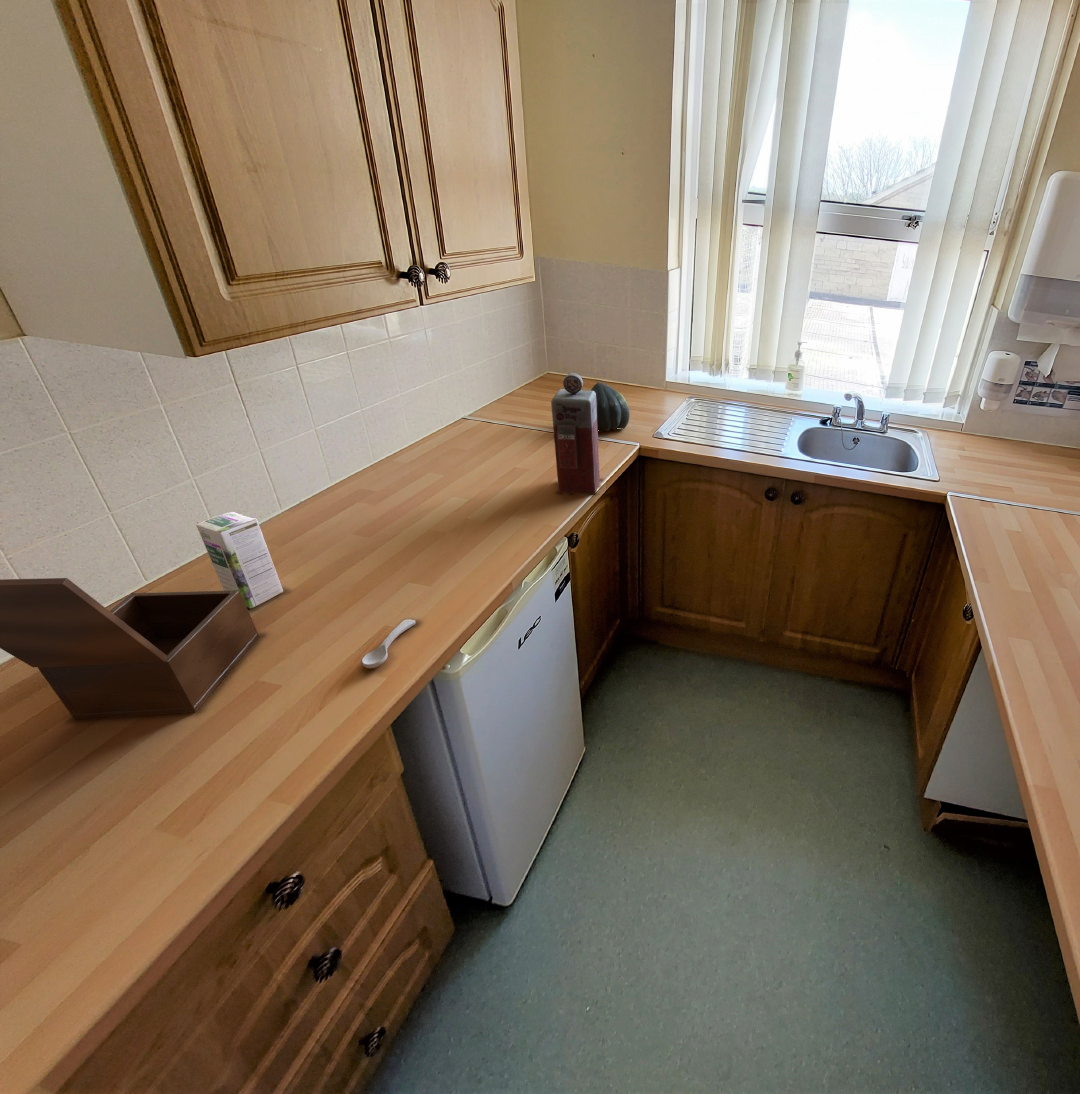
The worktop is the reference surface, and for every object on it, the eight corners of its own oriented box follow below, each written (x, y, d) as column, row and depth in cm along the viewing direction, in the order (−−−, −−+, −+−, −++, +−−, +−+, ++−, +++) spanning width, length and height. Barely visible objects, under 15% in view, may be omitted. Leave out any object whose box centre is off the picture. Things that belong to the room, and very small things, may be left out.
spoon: (358, 671, 83) (355, 660, 82) (403, 625, 94) (401, 615, 93) (378, 673, 83) (375, 662, 82) (421, 627, 94) (419, 617, 93)
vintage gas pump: (556, 496, 138) (546, 380, 124) (564, 478, 148) (556, 368, 133) (594, 498, 139) (588, 382, 125) (599, 479, 148) (595, 370, 134)
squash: (631, 421, 173) (627, 376, 176) (580, 423, 170) (577, 377, 173) (630, 439, 187) (626, 396, 190) (584, 441, 184) (580, 398, 187)
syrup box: (226, 600, 95) (191, 524, 88) (262, 583, 100) (232, 509, 93) (250, 609, 94) (217, 532, 86) (286, 591, 98) (257, 517, 91)
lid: (-98, 581, 56) (-104, 587, 55) (67, 577, 58) (62, 583, 58) (37, 661, 68) (32, 667, 68) (167, 655, 71) (164, 661, 70)
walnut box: (158, 640, 86) (131, 592, 82) (259, 636, 88) (239, 590, 84) (73, 719, 73) (36, 667, 68) (195, 712, 75) (167, 661, 71)
